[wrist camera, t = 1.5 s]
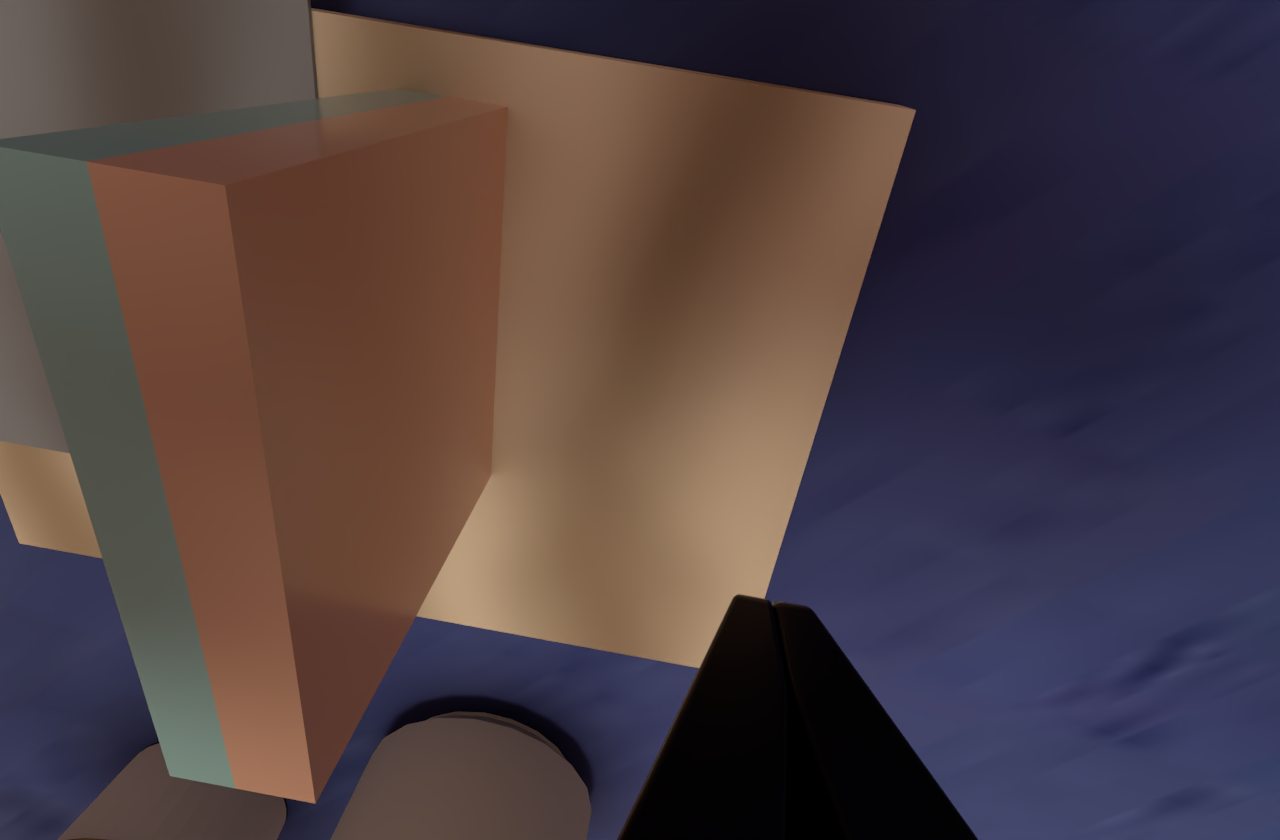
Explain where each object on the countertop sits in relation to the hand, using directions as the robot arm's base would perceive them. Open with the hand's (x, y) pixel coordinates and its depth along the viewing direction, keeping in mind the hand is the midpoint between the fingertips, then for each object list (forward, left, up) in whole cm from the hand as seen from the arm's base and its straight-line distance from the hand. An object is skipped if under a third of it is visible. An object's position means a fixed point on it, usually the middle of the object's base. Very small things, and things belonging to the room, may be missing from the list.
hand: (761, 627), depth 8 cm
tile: (+6, 0, -7) cm, 10 cm away
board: (+8, +2, -9) cm, 12 cm away
